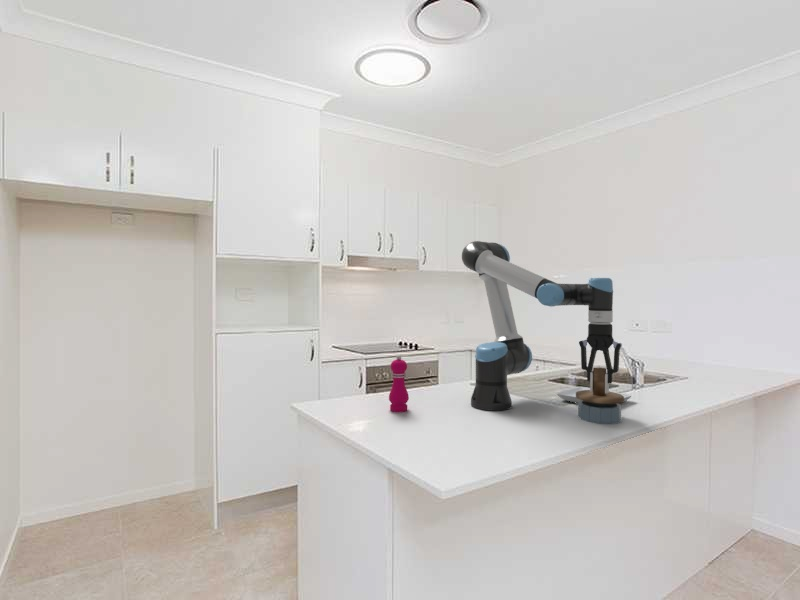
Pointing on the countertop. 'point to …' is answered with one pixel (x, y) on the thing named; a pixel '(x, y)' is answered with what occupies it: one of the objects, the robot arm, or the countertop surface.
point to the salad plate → (571, 393)
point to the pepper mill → (398, 386)
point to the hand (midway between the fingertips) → (599, 391)
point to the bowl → (599, 412)
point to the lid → (599, 390)
